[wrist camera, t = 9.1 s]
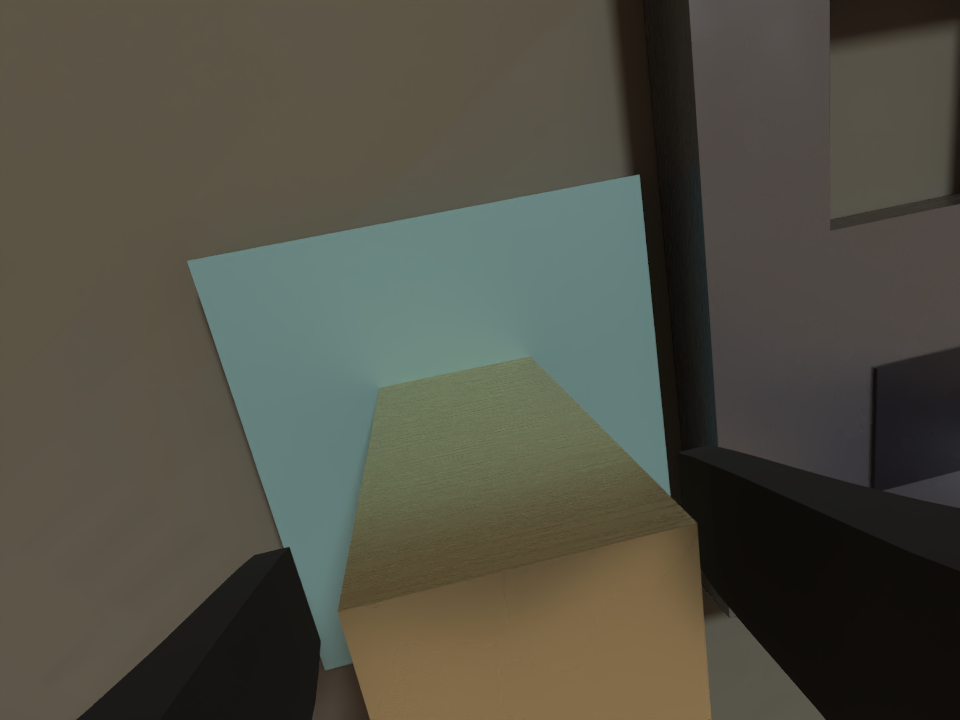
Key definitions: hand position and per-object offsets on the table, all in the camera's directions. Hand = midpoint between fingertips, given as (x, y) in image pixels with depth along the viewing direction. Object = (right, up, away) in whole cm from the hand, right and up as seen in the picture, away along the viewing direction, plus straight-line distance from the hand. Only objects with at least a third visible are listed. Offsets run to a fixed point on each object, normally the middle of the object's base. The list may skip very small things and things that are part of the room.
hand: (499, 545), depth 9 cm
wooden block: (-1, +1, +4) cm, 5 cm away
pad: (-1, +1, +5) cm, 6 cm away
